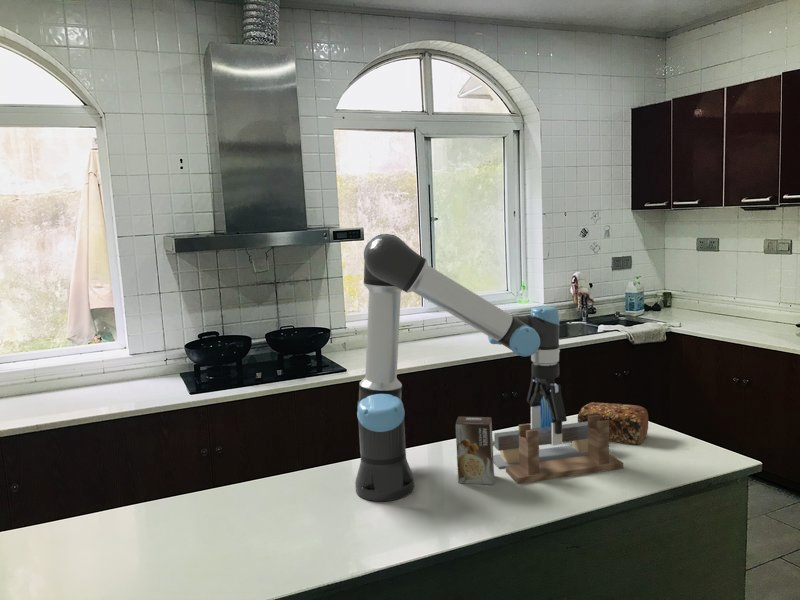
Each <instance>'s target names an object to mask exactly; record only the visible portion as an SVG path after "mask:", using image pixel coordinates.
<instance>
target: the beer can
mask: <svg viewBox="0 0 800 600" xmlns="http://www.w3.org/2000/svg"><path fill="white" fill-rule="evenodd" d="M555 385H557V383H555ZM540 403H541V405H537V406H540V408H541V427H548V426H552V423H551V421H552V420H553V418H552V415H551V412H550V409H549V405H548V402H547V400H545V398H544V396H543V397H542V399H541V401H540Z"/></svg>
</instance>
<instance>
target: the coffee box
mask: <svg viewBox="0 0 800 600" xmlns="http://www.w3.org/2000/svg"><path fill="white" fill-rule="evenodd" d="M492 421H493V418H492V417H489V416H486V417H485V416H458V417H457V419H456V421H455V439H456V441H455V443H456V460H457V461H456V463H457V464H456V465H457V480H458V481H457V482H458V483H459V484H472V485H473V484H475V485H477V484H478V485H493V484H494V481H495V477H496V476H495V467H494V465H495V464H494V461H493V456H494V445H493V444H494V442H493V422H492Z"/></svg>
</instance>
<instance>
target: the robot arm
mask: <svg viewBox="0 0 800 600" xmlns="http://www.w3.org/2000/svg"><path fill="white" fill-rule="evenodd" d="M363 260H364V262H363V263H364V264H363V265H364V267H363V285H364V286H365V287H366V289H367V290H368V308H367V331H366V333H367V334H366V349H365V350H366V353H365V374H364V375H365V376H364V378H363V379H361V381H359V385H358V386H359V388H358V390H359V391H358V401H357V411H356V415H357V420H358V421H357V422H358V436H359V439H358V440H359V453H360V463H359V467H358V470H357V474H356V477H355V483H354V485H355V486H354V487H355V493H356V495H357V496H359V497H360V498H362V499H365V500H368V501H374V502H389V501H395V500H399V499H403V498H405V497H407V496H409V495H410V494H411V493H413V492H414V489H415V477H414V475H413V473H412V470H411V467H410V465H409V464H410V463H409V462H408V460H407V451H406V450H407V449H406V448H407V446H406V433H405V432H406V431H405V430H406V428H405V416H406V415H405V413H406V412H405V408H404V403H403V402H402V390H403V384H402V382H401V381H400V380H399V379H398V378H397V376H398V375H397V374H398V358H399V357H398V356H399V355H398V354H399V338H400V337H399V335H400V318H401V317H400V315H401V312H400V311H401V298H402V297H401V294H402V291H404V293H406V294H407V293H412V292H413V293H414V294H416V295H418V296H420V297H422V298H423V299H425V300H427V301H428V302H430V303H432V304H433V305H435V306H437V307H438V308H440V309H441V310H443V311H444V312H447V313H448V314H450V315H451V316H452V317H453V316H454V317H455V318H457V319H458V320H460V321H463V323H465V324H467V325H468V326H471V327H472V328H474V329H475V330H477V331H479V332H481V333H483V334H484V335H486V336H487V338H488V341H489V343H490V344H491V345H502V346H504V347H505V348H507V349H509V350H511V351H512V352H513V353H514V354H515V355H517V356H520V357H530V361H531V376H530V385H529V389H528V393H527V397H526V402H527V403H529V406H530V424H531V429H532V428H540V427H541V408H540V406H537V405H541V403H540V401H541V399H542V397H543V396H544V398H545V400H547V402H548V405H549V409H550V412H551V415H552V418H553V420H552V421H551V423H552V444H551V445H552V446H559V445H560V446H561V445H563V442H562V425H563V422H567V420H568V419H567V415H566V414H567V413H566V410H565V406H564V400H563V397H562V386H561V384H556V383H555V379H556V378H559V377H560V363H559V362H560V352H561V349H560V314H559V313H560V312H559V310H558V308H556V307H554V306H548V305H545V306H544V305H541V306H539V305H538V306H533V307H532V308H531V310H530V314H526V315H511V314H509V313H508V312H507V311H505V310H503V309H501V308H499V307H498V306H497V305H495V304H493V303H491V302H490V301H488V300H487V299H485V298H483V297H482V296H480V295H478V294H476V293H475V292H473V291H472V290H470V289H468V288H467V287H466V286H463V285H462V284H460V283H458V281H455V280H454V279H452V278H451V277H449V276H446V275H445V274H443V273H442V272H440V271H438V270H437V269H435V268H434V267H432V266H430V265H429V262H428V260H427V258H425V257H424V256H421V255H420V254H419V253H417V252H416V251H415V250H413V249H412V248H411V247H410V246H409V245H408V244H407V243H405V241H404V240H402V239H401V238H400V237H399V236H397V235H394V234H391V233H381V234H378V235H376V236H374V237H372V238H371V239H370V240H369V241H367V243H366V245H365V247H364V249H363ZM555 384H556V385H555Z"/></svg>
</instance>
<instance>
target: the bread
mask: <svg viewBox="0 0 800 600" xmlns="http://www.w3.org/2000/svg"><path fill="white" fill-rule="evenodd" d="M592 415H599V416H600V421H604V420H608V421H609V442H612V443H620V444H625V445H626V444H627V445H641V444H642V443H643V442H644V441H645V440H646V438H647V437H648V431H649V413H648V409H646V408H645V407H643V406H640V405H633V404H622V403H608V402H606V403H605V402H594V401H593V402H592V401H591V402H589V403H587V404H586V405H583V406H582V407H581V408H580V411H578V415H577V423H579V422H587V421H588V416H592Z"/></svg>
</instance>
